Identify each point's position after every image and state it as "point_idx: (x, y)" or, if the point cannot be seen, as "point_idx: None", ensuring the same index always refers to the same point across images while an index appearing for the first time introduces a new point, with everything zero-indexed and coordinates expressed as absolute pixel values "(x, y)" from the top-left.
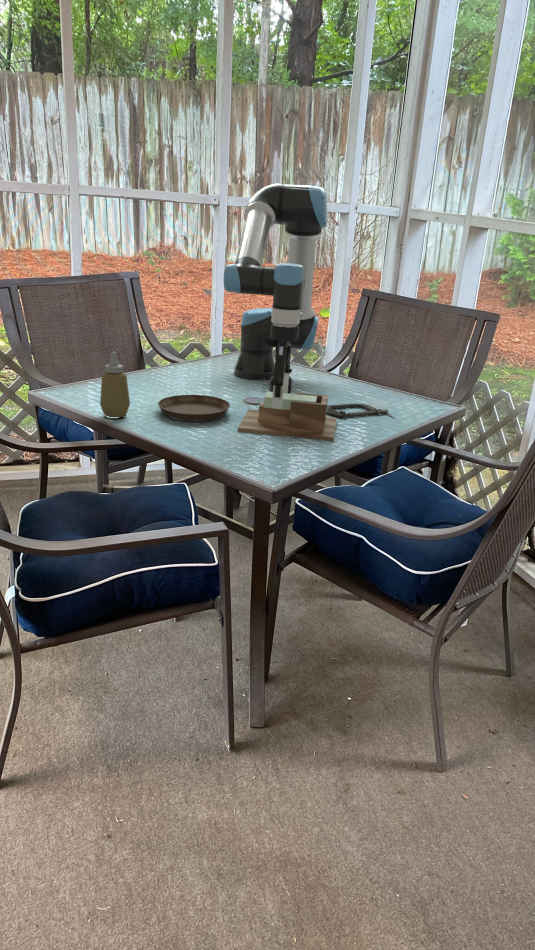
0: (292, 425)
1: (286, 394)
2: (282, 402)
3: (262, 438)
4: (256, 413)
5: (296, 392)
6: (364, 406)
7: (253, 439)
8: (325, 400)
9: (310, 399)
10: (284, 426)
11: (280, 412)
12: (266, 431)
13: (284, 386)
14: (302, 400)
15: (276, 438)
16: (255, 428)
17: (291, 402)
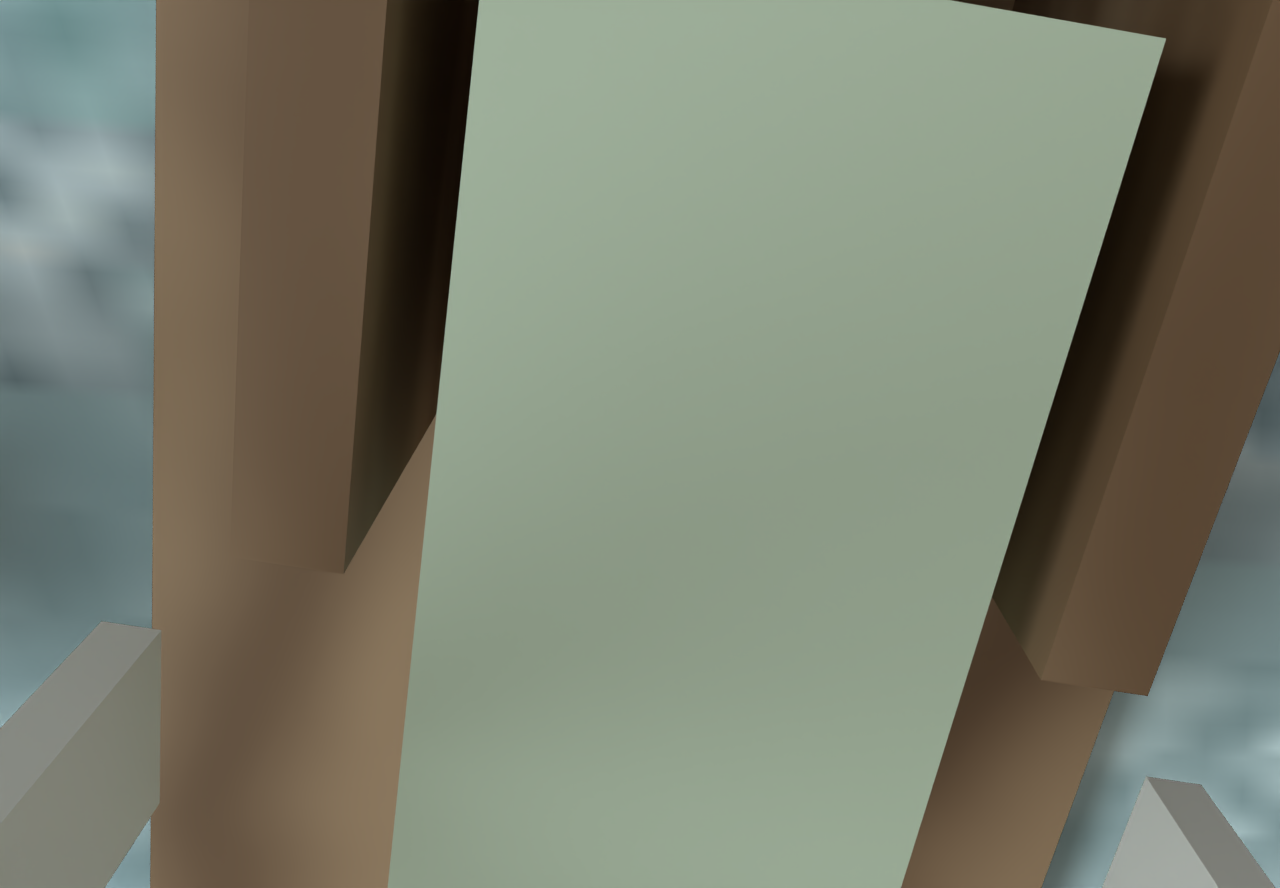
0: None
1: (509, 756)
2: (1220, 871)
3: (1242, 769)
4: (326, 851)
5: (241, 513)
6: None
7: (1274, 863)
8: None
9: (903, 178)
10: None
11: None
12: (1085, 745)
13: (51, 841)
14: (1025, 416)
15: (1250, 607)
16: (1008, 876)
17: (1145, 675)
